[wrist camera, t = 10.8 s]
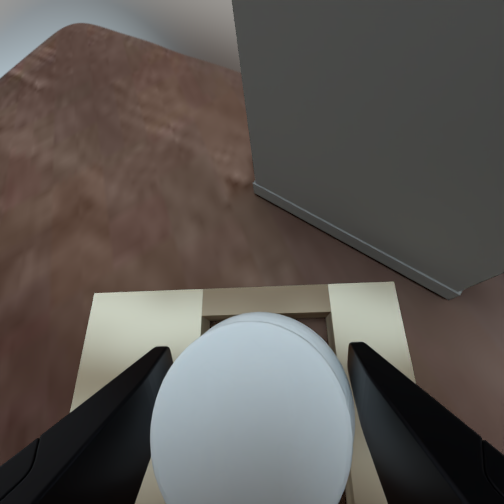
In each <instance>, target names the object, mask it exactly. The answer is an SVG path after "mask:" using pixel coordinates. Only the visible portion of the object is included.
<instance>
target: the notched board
mask: <svg viewBox="0 0 504 504" xmlns="http://www.w3.org/2000/svg"><path fill="white" fill-rule="evenodd" d="M251 312H269V313H276V314H281V315H284V316H287V317H290V318H292V319H299V318H326V326H327V335H328V344H329V347H330V348H331V349H332V350H333V352H334V353H335V355H336V356H337V358H338V359H339V361H340V363H341V364H342V366H343V369H344V371H345V373H346V376H347V378H348V381H349V384H350V387H351V383H350V378H349V374H348V368H347V360H348V346H349V343H350V342H364V343H366V344H367V345H369V346H370V347H371V348H372V349H373V350H375V351H376V352H377V353H378V354H380V355H381V356H382V357H383V358H385V359H386V360H387V361H388V362H389V363H391V364H392V365H393V366H394V367H396V368H397V369H398V370H399V371H401V372H402V373H403V374H404V375H406V376H407V377H408V378H409V379H410V380H412V381H413V382H414V383H415V384H416V381H415V377H414V372H413V368H412V363H411V358H410V354H409V349H408V345H407V340H406V335H405V331H404V326H403V322H402V317H401V312H400V308H399V303H398V299H397V294H396V289H395V285H394V282H371V283H346V284H320V285H295V286H269V287H244V288H218V289H193V290H167V291H142V292H116V293H94V298H93V303H92V308H91V313H90V318H89V322H88V327H87V332H86V337H85V342H84V347H83V352H82V357H81V362H80V366H79V371H78V376H77V381H76V386H75V391H74V396H73V401H72V406H71V410H70V412H72V411H73V410H74V409H76V408H77V407H78V406H79V405H81V404H82V403H83V402H84V401H86V400H87V399H88V398H90V397H91V396H92V395H93V394H95V393H96V392H97V391H99V390H100V389H101V388H102V387H104V386H105V385H106V384H108V383H109V382H110V381H111V380H113V379H114V378H115V377H117V376H118V375H119V374H120V373H122V372H123V371H124V370H126V369H127V368H128V367H129V366H131V365H132V364H133V363H135V362H136V361H137V360H138V359H140V358H141V357H142V356H144V355H145V354H146V353H147V352H149V351H150V350H151V349H153V348H154V347H156V346H168V347H169V348H170V350H171V355H172V359H173V363H174V361H175V360H176V359H177V358H178V356H179V355H180V354H181V353H182V352H183V351H184V350H185V349H186V348H187V347H188V346H189V345H190V344H191V343H192V342H194V341H195V340H196V339H198V338H199V337H200V336H202V335H203V334H204V333H205V332H206V331H208V330H209V329H210V321H223V320H226V319H228V318H230V317H233V316H236V315H240V314H244V313H251ZM351 391H352V387H351ZM352 396H353V401H354V409H355V434H354V442H353V455H352V463H351V468H350V473H349V476H348V480H347V483H346V487H345V492H346V501H347V504H388V503H387V500H386V497H385V494H384V491H383V488H382V486H381V483H380V480H379V477H378V474H377V471H376V468H375V466H374V463H373V460H372V457H371V454H370V451H369V448H368V446H367V443H366V440H365V437H364V434H363V431H362V428H361V424H360V421H359V417H358V412H357V408H356V404H355V400H354V395H353V391H352ZM135 504H166V503H165V501H164V498H163V496H162V494H161V492H160V490H159V487H158V484H157V481H156V478H155V474H154V470H153V466H152V460H151V459H150V461H149V464H148V467H147V470H146V473H145V476H144V479H143V482H142V484H141V487H140V490H139V493H138V496H137V499H136V502H135Z"/></svg>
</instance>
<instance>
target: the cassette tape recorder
mask: <svg viewBox="0 0 504 504" xmlns="http://www.w3.org/2000/svg"><path fill="white" fill-rule="evenodd" d="M232 5H233V12H234V21H235V27H236V35H237V44H238V51H239V58H240V67H241V74H242V82H243V90H244V97H245V105H246V113H247V120H248V128H249V136H250V143H251V151H252V159H253V166H254V174H255V181H254V183H253V188H254V193H256V194H257V195H259V196H261V197H262V198H265V199H266V200H268V201H270V202H272V203H274V204H276V205H277V206H279V207H281V208H283V209H285V210H286V211H288V212H290V213H292V214H294V215H295V216H297V217H299V218H301V219H303V220H305V221H306V222H308V223H310V224H312V225H314V226H315V227H317V228H319V229H321V230H323V231H325V232H326V233H328V234H330V235H332V236H334V237H335V238H337V239H339V240H341V241H343V242H344V243H346V244H348V245H350V246H352V247H354V248H355V249H357V250H359V251H361V252H363V253H364V254H366V255H368V256H370V257H372V258H374V259H375V260H377V261H379V262H381V263H383V264H384V265H386V266H388V267H390V268H392V269H393V270H395V271H397V272H399V273H401V274H403V275H404V276H406V277H408V278H410V279H412V280H413V281H415V282H417V283H419V284H421V285H423V286H424V287H426V288H428V289H430V290H432V291H433V292H435V293H437V294H439V295H441V296H442V297H444V298H446V299H448V300H450V299H452V298H455V297H457V296H460V295H461V293H462V290H464V289H466V288H469V287H471V286H473V285H476V284H478V283H481V282H483V281H485V280H488V279H490V278H492V277H495V276H497V275H500V274H502V273H504V0H232Z"/></svg>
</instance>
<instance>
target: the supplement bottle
mask: <svg viewBox="0 0 504 504" xmlns="http://www.w3.org/2000/svg"><path fill="white" fill-rule="evenodd" d="M354 434H355V409H354V401H353V396H352V391H351V387H350V384H349V381H348V378H347V376H346V373H345V371H344V369H343V366H342V364H341V363H340V361H339V359H338V358H337V356H336V355H335V353H334V352H333V350H332V349H331V348H330V347H329V345H328V344H327V343H326V342H325V341H324V340H323V339H322V338H321V337H320V336H319V335H318V334H317V333H316V332H314V331H313V330H312V329H310V328H309V327H307V326H306V325H304V324H303V323H301V322H299V321H297V320H295V319H292V318H290V317H287V316H284V315H281V314H276V313H269V312H251V313H244V314H240V315H236V316H233V317H230V318H228V319H226V320H223V321H222V322H220V323H218V324H216V325H215V326H213V327H212V328H210V329H209V330H208V331H206V332H205V333H204V334H203V335H202V336H200V337H199V338H198V339H196V340H195V341H194V342H192V343H191V344H190V345H189V346H188V347H187V348H186V349H185V350H184V351H183V352H182V353H181V354H180V355H179V356H178V358H177V359H176V360H175V361H174V363H173V364H172V366H171V367H170V369H169V371H168V372H167V374H166V376H165V378H164V380H163V382H162V384H161V387H160V389H159V392H158V394H157V397H156V401H155V405H154V409H153V413H152V420H151V428H150V449H151V460H152V466H153V470H154V474H155V478H156V481H157V484H158V487H159V490H160V492H161V494H162V496H163V498H164V501H165V503H166V504H338V503H339V501H340V499H341V497H342V494H343V492H344V490H345V487H346V483H347V480H348V476H349V473H350V468H351V463H352V455H353V442H354Z"/></svg>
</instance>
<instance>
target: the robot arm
mask: <svg viewBox="0 0 504 504" xmlns="http://www.w3.org/2000/svg"><path fill="white" fill-rule="evenodd" d="M172 364H173V359H172V355H171V350H170V348H169V347H168V346H156V347H154V348H153V349H151V350H150V351H149V352H147V353H146V354H145V355H144V356H142V357H141V358H140V359H138V360H137V361H136V362H135V363H133V364H132V365H131V366H129V367H128V368H127V369H126V370H124V371H123V372H122V373H120V374H119V375H118V376H117V377H115V378H114V379H113V380H111V381H110V382H109V383H108V384H106V385H105V386H104V387H102V388H101V389H100V390H99V391H97V392H96V393H95V394H93V395H92V396H91V397H90V398H88V399H87V400H86V401H84V402H83V403H82V404H81V405H79V406H78V407H77V408H76V409H74V410H73V411H72V412H70V413H69V414H68V415H67V416H65V417H64V418H63V419H61V420H60V421H59V422H58V423H56V424H55V425H54V426H52V427H51V428H50V429H49V430H47V431H46V432H45V433H43V434H42V435H41V437H40V438H37V439H36V440H34V441H33V442H32V443H30V444H29V445H28V446H27V447H25V448H24V449H23V450H21V451H20V452H19V453H17V454H16V455H15V456H13V457H12V458H11V459H10V460H8V461H7V462H6V463H4V464H3V465H2V466H0V504H135V502H136V499H137V496H138V493H139V490H140V487H141V484H142V482H143V479H144V476H145V473H146V470H147V467H148V464H149V461H150V459H151V449H150V428H151V420H152V413H153V409H154V405H155V401H156V397H157V394H158V392H159V389H160V387H161V384H162V382H163V380H164V378H165V376H166V374H167V372H168V371H169V369H170V367H171V366H172ZM347 368H348V374H349V378H350V383H351V387H352V391H353V395H354V400H355V404H356V408H357V412H358V417H359V421H360V424H361V428H362V431H363V434H364V437H365V440H366V443H367V446H368V448H369V451H370V454H371V457H372V460H373V463H374V466H375V468H376V471H377V474H378V477H379V480H380V483H381V486H382V488H383V491H384V494H385V497H386V500H387V503H388V504H504V455H503V454H502V453H501V452H499V451H498V450H497V449H496V448H494V447H493V446H492V445H491V444H489V443H488V442H487V441H486V440H483V441H482V438H481V436H479V435H478V434H477V433H476V432H475V431H473V430H472V429H471V428H470V427H468V426H467V425H466V424H465V423H463V422H462V421H461V420H460V419H458V418H457V417H456V416H455V415H454V414H452V413H451V412H450V411H449V410H447V409H446V408H445V407H444V406H442V405H441V404H440V403H439V402H438V401H436V400H435V399H434V398H433V397H431V396H430V395H429V394H428V393H426V392H425V391H424V390H423V389H422V388H420V387H419V386H418V385H417V384H415V383H414V382H413V381H412V380H410V379H409V378H408V377H407V376H406V375H404V374H403V373H402V372H401V371H399V370H398V369H397V368H396V367H394V366H393V365H392V364H391V363H389V362H388V361H387V360H386V359H385V358H383V357H382V356H381V355H380V354H378V353H377V352H376V351H375V350H373V349H372V348H371V347H370V346H369V345H367V344H366V343H364V342H350V343H349V346H348V360H347Z"/></svg>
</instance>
